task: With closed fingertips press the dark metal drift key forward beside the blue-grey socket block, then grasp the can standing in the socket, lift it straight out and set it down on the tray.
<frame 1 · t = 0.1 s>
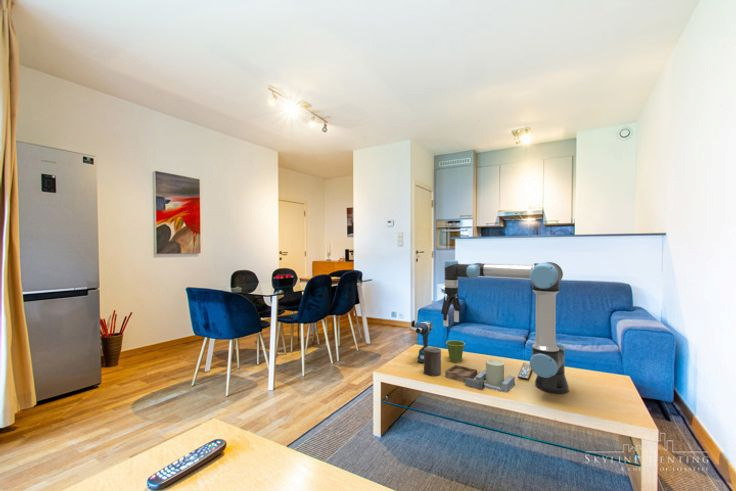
hand: (451, 323, 195), 28 cm above the table, fingers open, 13 cm apart
pillar candle: (432, 373, 195), on the table
plant pot: (455, 360, 216), on the table
socket block: (494, 384, 179), on the table
drift key: (474, 382, 176), point 2 cm above the table, slide at 0.0 cm
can: (494, 384, 179), resting in socket block
impact wrench: (424, 362, 213), on the table
tray: (461, 376, 189), on the table
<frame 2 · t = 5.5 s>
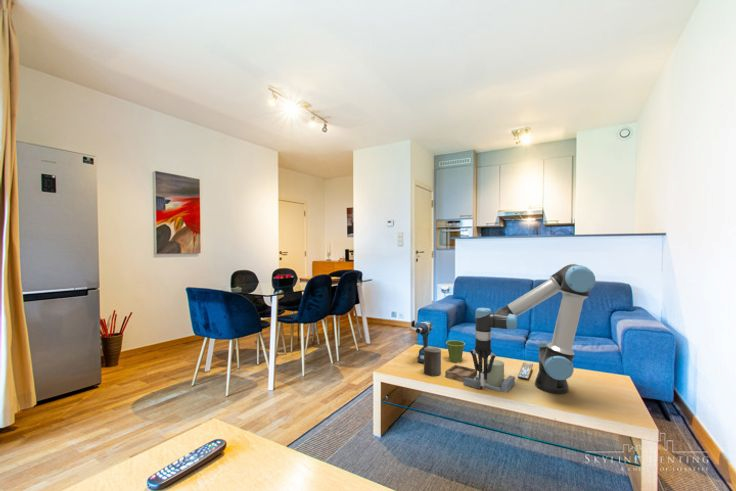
hand: (482, 385, 173), 2 cm above the table, fingers closed
drift key: (473, 382, 176), point 2 cm above the table, slide at 0.9 cm, touching gripper
everything else where it was.
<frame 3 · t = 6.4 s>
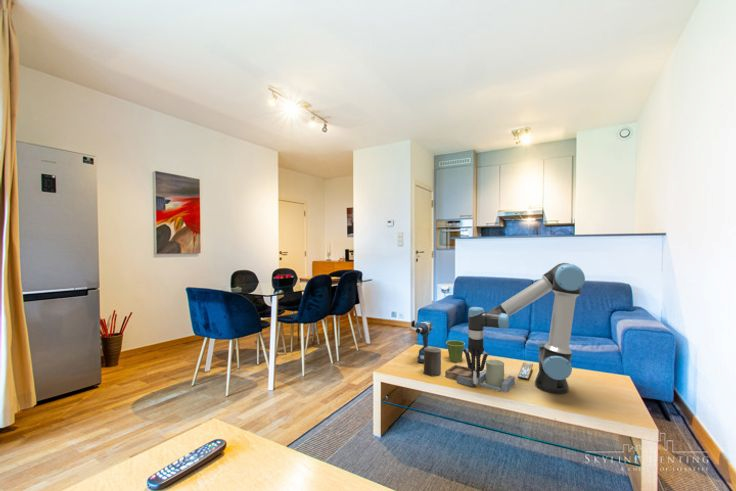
hand: (475, 383, 175), 2 cm above the table, fingers closed
drift key: (466, 380, 179), point 2 cm above the table, slide at 4.7 cm, touching gripper
everything else where it was.
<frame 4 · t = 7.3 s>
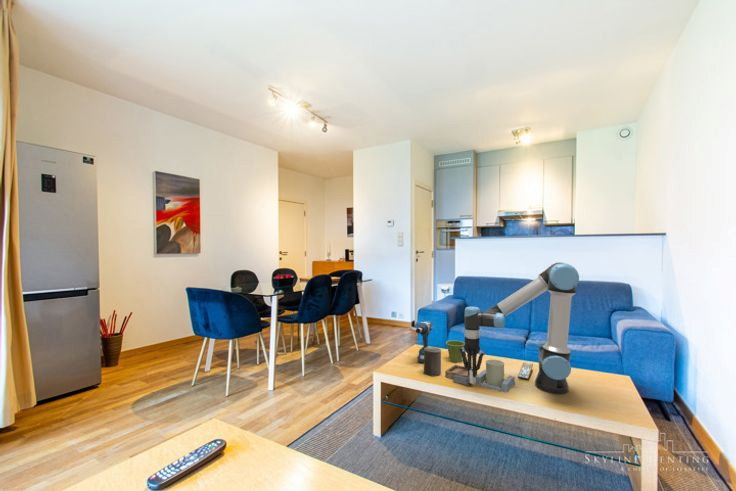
hand: (471, 382, 177), 2 cm above the table, fingers closed
drift key: (462, 379, 180), point 2 cm above the table, slide at 6.7 cm, touching gripper
everything else where it was.
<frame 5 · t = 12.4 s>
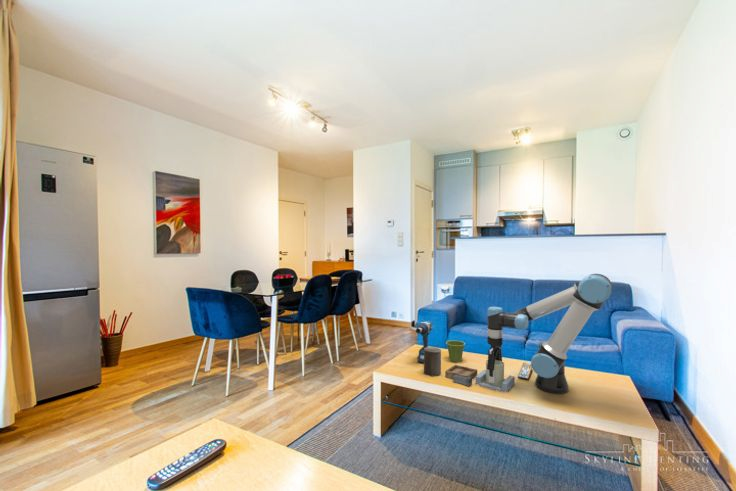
hand: (494, 379, 179), 2 cm above the table, fingers closed on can, 9 cm apart
drift key: (462, 379, 180), point 2 cm above the table, slide at 6.7 cm
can: (494, 384, 179), resting in socket block, touching gripper
everything else where it was.
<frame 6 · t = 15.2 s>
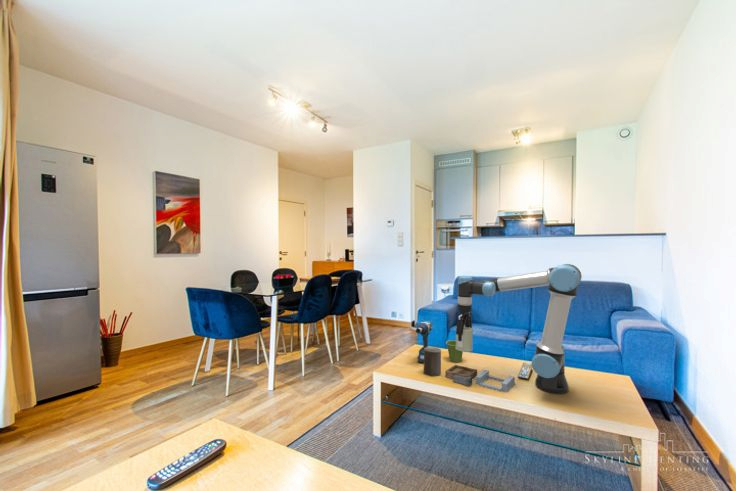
hand: (464, 344, 188), 18 cm above the table, fingers closed on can, 9 cm apart
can: (464, 349, 188), point 15 cm above the table, touching gripper
everything else where it was.
when the fingers open (6 cm above the table, at t = 18.1 s): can drops 1 cm, resting on tray.
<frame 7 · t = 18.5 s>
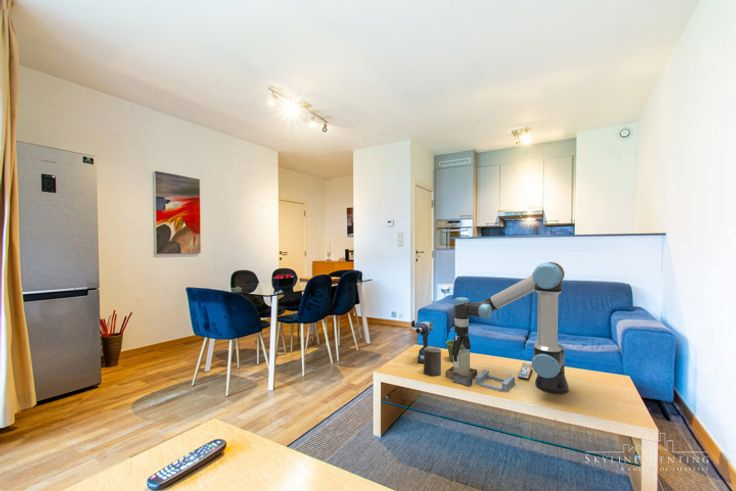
hand: (461, 363, 189), 7 cm above the table, fingers open, 13 cm apart
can: (461, 373, 189), point 2 cm above the table, touching tray
everything else where it was.
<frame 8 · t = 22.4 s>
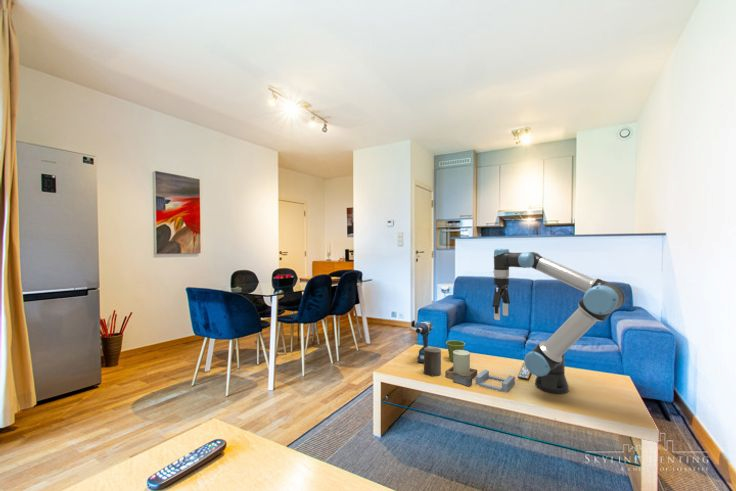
hand: (501, 317, 181), 35 cm above the table, fingers open, 13 cm apart
nothing on the table moved.
at the end: drift key slide at 6.7 cm; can inside the target area on the tray (0.0 cm from its centre), point 1.8 cm above the tray's base; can tilted 0° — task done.
